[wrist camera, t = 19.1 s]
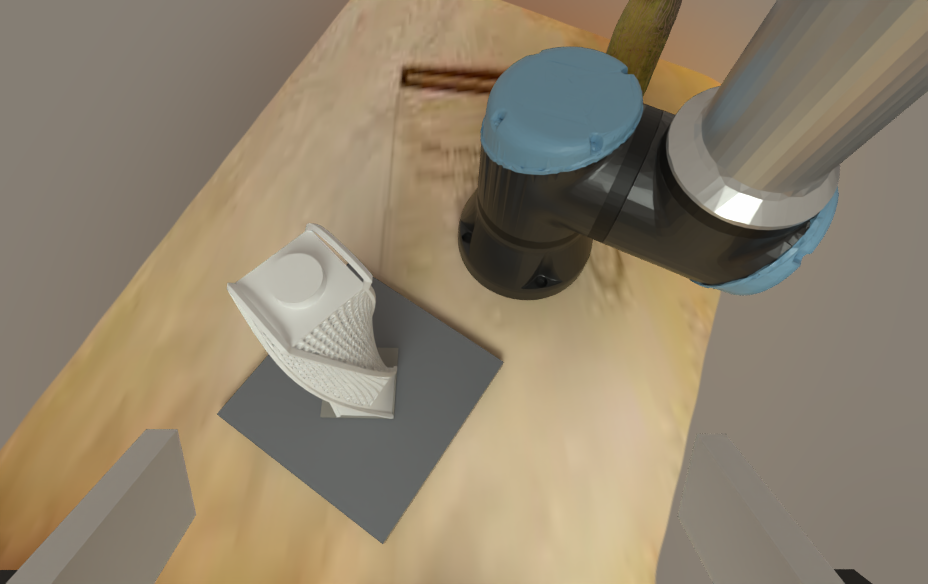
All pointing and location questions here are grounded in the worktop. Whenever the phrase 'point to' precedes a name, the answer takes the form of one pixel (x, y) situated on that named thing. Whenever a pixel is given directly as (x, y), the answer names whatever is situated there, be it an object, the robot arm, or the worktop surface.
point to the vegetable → (643, 36)
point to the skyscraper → (321, 325)
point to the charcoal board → (367, 439)
